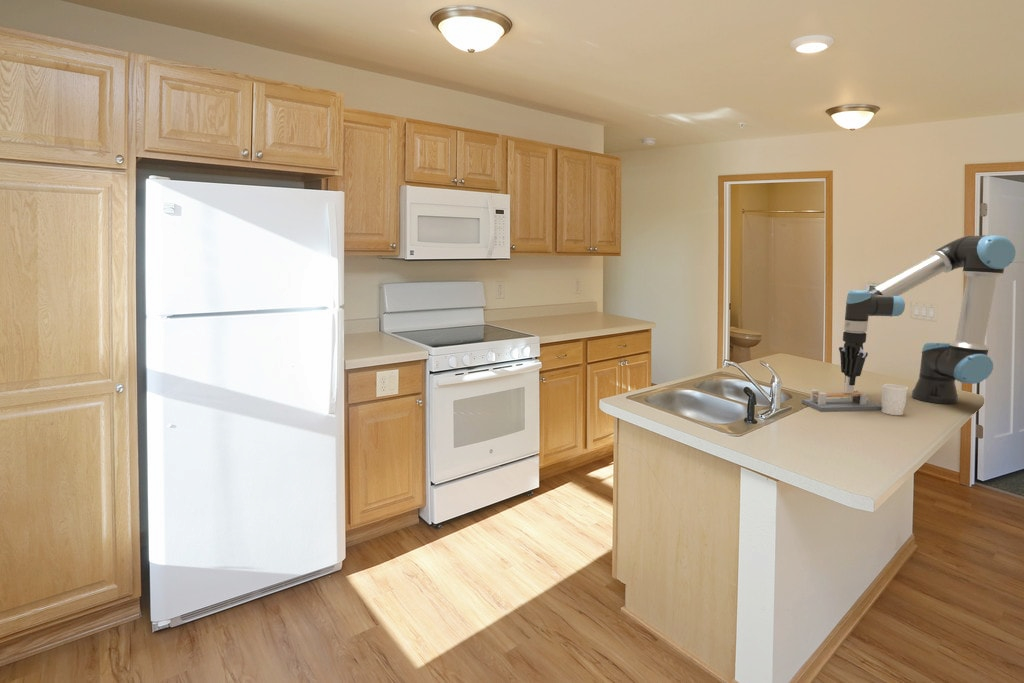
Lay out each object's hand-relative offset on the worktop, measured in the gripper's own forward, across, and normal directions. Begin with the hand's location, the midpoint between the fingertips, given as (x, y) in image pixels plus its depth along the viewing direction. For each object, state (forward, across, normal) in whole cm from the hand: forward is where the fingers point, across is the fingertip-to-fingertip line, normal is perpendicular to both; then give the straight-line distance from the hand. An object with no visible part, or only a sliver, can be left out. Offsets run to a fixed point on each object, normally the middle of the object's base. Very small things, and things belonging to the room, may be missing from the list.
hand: (848, 392), depth 220 cm
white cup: (+6, +10, +11) cm, 15 cm away
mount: (+5, 0, -2) cm, 6 cm away
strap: (+1, 0, -4) cm, 4 cm away
